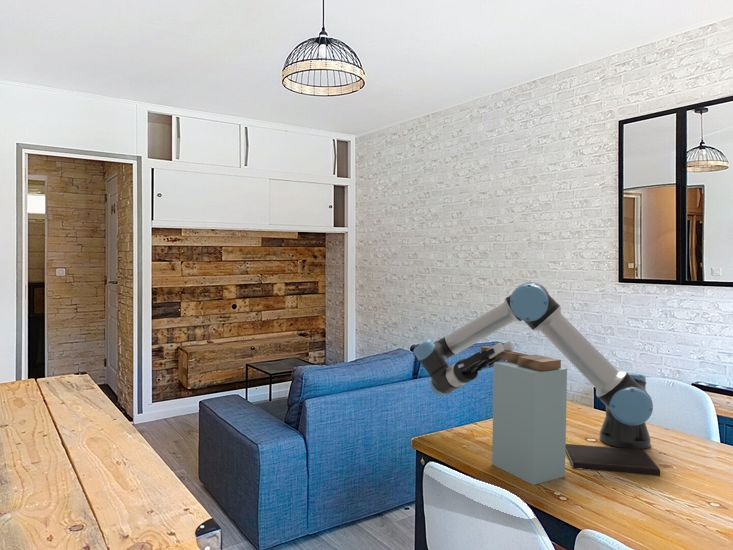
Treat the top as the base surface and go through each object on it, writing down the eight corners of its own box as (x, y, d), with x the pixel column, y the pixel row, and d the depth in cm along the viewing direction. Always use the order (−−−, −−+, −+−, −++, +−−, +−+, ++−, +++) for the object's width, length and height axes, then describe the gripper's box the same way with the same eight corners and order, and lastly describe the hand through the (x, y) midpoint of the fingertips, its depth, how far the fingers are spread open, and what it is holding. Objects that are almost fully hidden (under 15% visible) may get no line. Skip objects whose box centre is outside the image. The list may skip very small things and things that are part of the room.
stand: (492, 464, 155) (493, 362, 154) (522, 457, 161) (524, 359, 160) (533, 484, 141) (535, 372, 140) (564, 476, 147) (567, 368, 146)
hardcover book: (564, 450, 169) (564, 443, 169) (643, 457, 164) (643, 449, 164) (572, 470, 153) (573, 462, 153) (660, 477, 148) (660, 469, 148)
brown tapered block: (475, 355, 165) (475, 347, 165) (492, 353, 168) (492, 345, 168) (542, 371, 141) (542, 362, 141) (560, 368, 145) (560, 359, 145)
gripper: (484, 380, 179) (530, 355, 160) (446, 385, 171) (490, 360, 153) (477, 359, 182) (521, 332, 164) (439, 363, 174) (481, 335, 156)
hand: (506, 346), depth 158 cm, fingers closed on brown tapered block, 3 cm apart
